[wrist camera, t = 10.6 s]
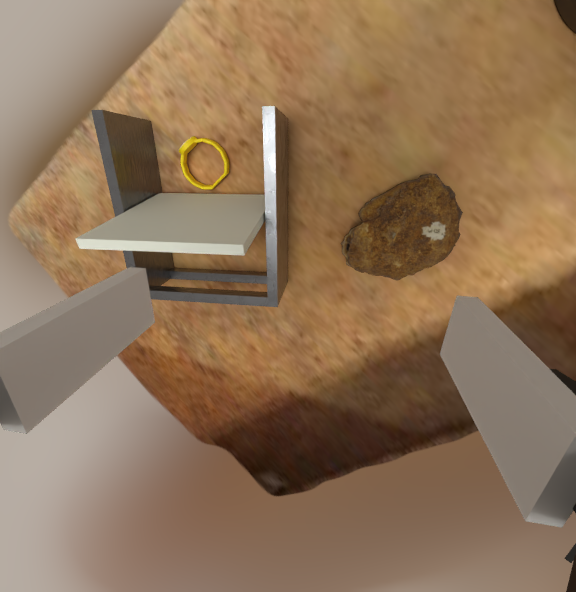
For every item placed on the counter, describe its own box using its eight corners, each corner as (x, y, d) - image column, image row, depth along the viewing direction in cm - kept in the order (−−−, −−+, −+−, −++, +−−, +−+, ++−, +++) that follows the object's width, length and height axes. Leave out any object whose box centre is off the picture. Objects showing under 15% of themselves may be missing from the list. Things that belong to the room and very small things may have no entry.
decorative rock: (367, 292, 45) (467, 234, 40) (371, 304, 41) (482, 242, 36) (324, 228, 41) (428, 158, 37) (325, 236, 38) (441, 158, 33)
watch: (238, 166, 40) (207, 125, 38) (234, 169, 38) (200, 125, 36) (207, 194, 42) (175, 157, 40) (201, 198, 40) (167, 159, 38)
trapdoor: (275, 202, 40) (275, 194, 39) (244, 255, 26) (243, 244, 26) (161, 200, 42) (159, 193, 41) (79, 248, 29) (75, 238, 28)
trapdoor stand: (288, 118, 37) (274, 106, 28) (287, 280, 45) (277, 307, 37) (142, 121, 39) (91, 110, 31) (168, 274, 47) (133, 297, 39)
